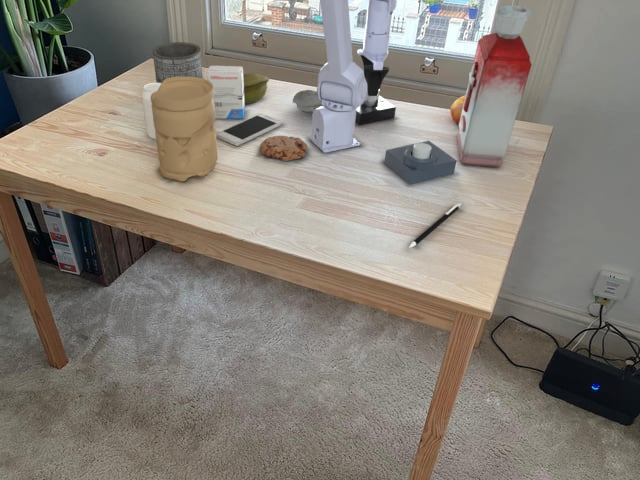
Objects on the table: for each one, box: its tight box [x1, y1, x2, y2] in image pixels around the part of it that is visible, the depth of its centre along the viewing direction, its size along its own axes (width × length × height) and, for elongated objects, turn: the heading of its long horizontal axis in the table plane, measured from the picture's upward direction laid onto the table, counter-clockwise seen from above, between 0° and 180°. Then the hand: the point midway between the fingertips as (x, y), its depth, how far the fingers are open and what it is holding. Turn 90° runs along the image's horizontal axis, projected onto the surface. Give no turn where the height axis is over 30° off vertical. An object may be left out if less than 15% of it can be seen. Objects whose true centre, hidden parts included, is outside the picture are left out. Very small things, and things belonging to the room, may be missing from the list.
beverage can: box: [141, 82, 162, 141], centre depth 133 cm, size 6×6×12 cm
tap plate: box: [355, 95, 397, 126], centre depth 144 cm, size 10×9×3 cm
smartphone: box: [216, 113, 282, 147], centre depth 138 cm, size 7×15×1 cm, turn 136°
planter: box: [152, 41, 204, 83], centre depth 150 cm, size 12×12×13 cm
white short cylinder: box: [412, 142, 432, 159], centre depth 118 cm, size 4×4×2 cm
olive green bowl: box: [243, 72, 270, 104], centre depth 151 cm, size 11×12×7 cm
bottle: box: [456, 5, 533, 168], centre depth 119 cm, size 14×10×30 cm
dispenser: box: [383, 140, 457, 185], centre depth 122 cm, size 11×11×5 cm
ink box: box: [205, 65, 246, 120], centre depth 142 cm, size 9×5×12 cm, turn 84°
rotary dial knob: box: [362, 88, 381, 107], centre depth 142 cm, size 4×4×4 cm
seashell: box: [292, 89, 323, 113], centre depth 145 cm, size 12×8×5 cm
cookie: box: [259, 135, 308, 162], centre depth 129 cm, size 10×11×3 cm
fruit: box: [449, 94, 466, 126], centre depth 138 cm, size 8×8×8 cm
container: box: [151, 76, 219, 182], centre depth 119 cm, size 13×13×18 cm
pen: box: [408, 203, 462, 249], centre depth 107 cm, size 1×19×1 cm, turn 138°
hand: (370, 89), depth 140 cm, fingers open, 7 cm apart
